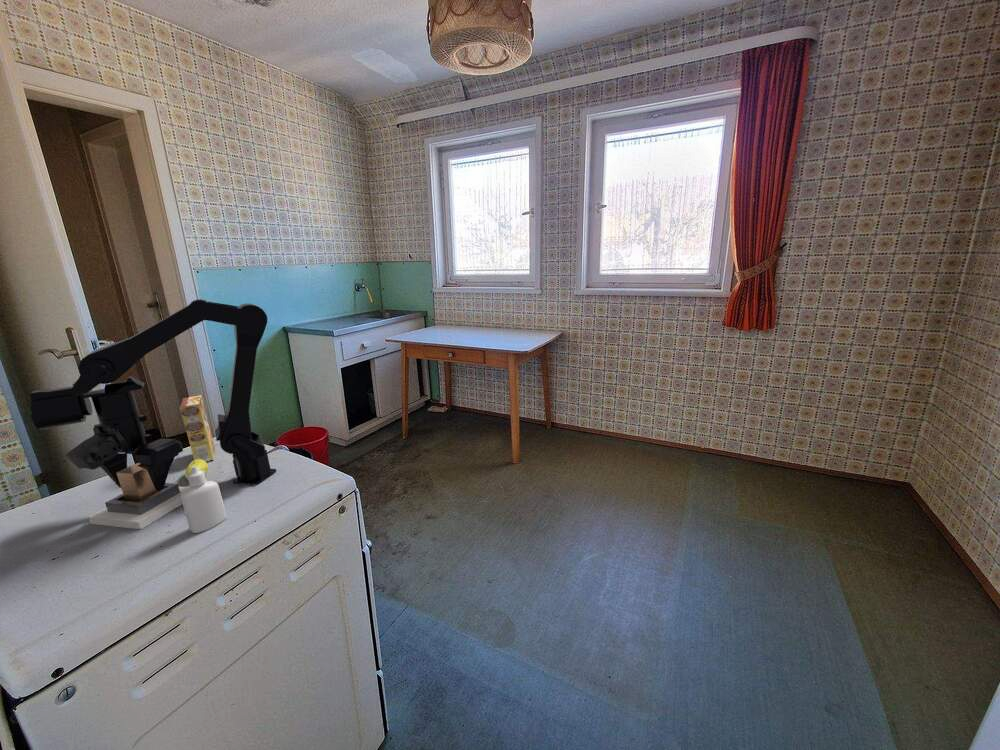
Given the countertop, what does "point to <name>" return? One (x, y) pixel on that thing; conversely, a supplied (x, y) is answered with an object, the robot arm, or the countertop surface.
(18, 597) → the countertop surface
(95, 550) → the countertop surface
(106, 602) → the countertop surface
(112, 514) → the collar plate
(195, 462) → the yellow elongated oval piece
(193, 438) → the candy box
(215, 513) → the eye dropper bottle
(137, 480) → the wooden square prism
